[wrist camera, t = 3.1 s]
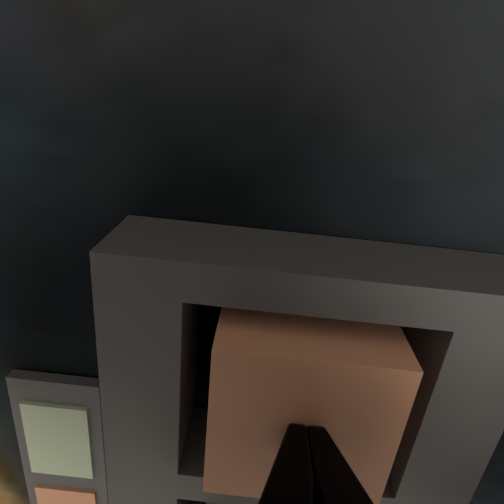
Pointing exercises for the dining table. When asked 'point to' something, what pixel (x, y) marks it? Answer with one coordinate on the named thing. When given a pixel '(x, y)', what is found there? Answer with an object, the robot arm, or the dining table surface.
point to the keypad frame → (297, 303)
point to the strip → (59, 436)
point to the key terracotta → (305, 394)
